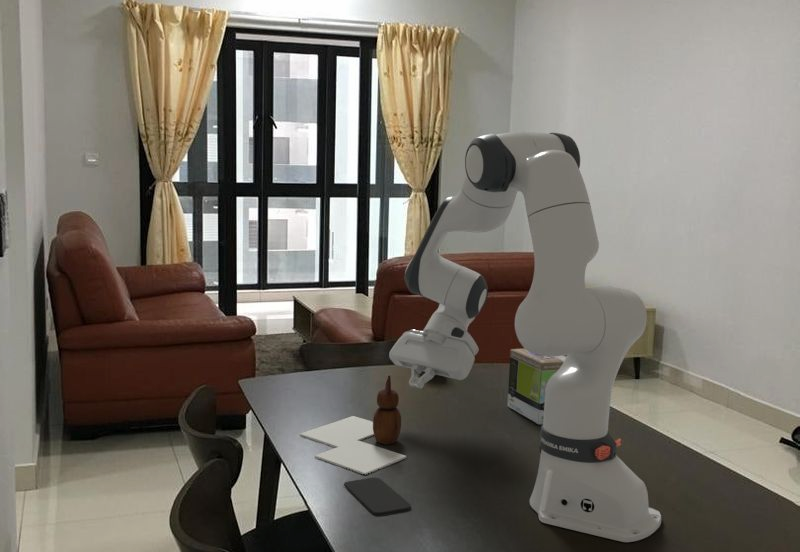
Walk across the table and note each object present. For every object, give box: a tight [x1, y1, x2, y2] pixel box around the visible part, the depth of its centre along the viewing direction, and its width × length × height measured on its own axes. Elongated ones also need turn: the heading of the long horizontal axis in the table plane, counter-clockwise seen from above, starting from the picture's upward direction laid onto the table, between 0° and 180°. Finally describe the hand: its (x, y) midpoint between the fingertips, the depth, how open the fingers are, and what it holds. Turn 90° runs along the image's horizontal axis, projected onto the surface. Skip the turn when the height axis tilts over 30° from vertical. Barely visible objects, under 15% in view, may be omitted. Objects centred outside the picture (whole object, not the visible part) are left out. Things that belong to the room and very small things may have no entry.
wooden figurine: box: [372, 375, 402, 445], centre depth 179 cm, size 7×6×15 cm
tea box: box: [507, 347, 567, 425], centre depth 201 cm, size 15×10×15 cm, turn 22°
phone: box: [343, 477, 412, 517], centre depth 152 cm, size 7×1×15 cm
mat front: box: [299, 415, 374, 448], centre depth 186 cm, size 12×17×1 cm
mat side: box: [314, 440, 407, 476], centre depth 171 cm, size 14×12×1 cm
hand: (414, 386), depth 186 cm, fingers closed
